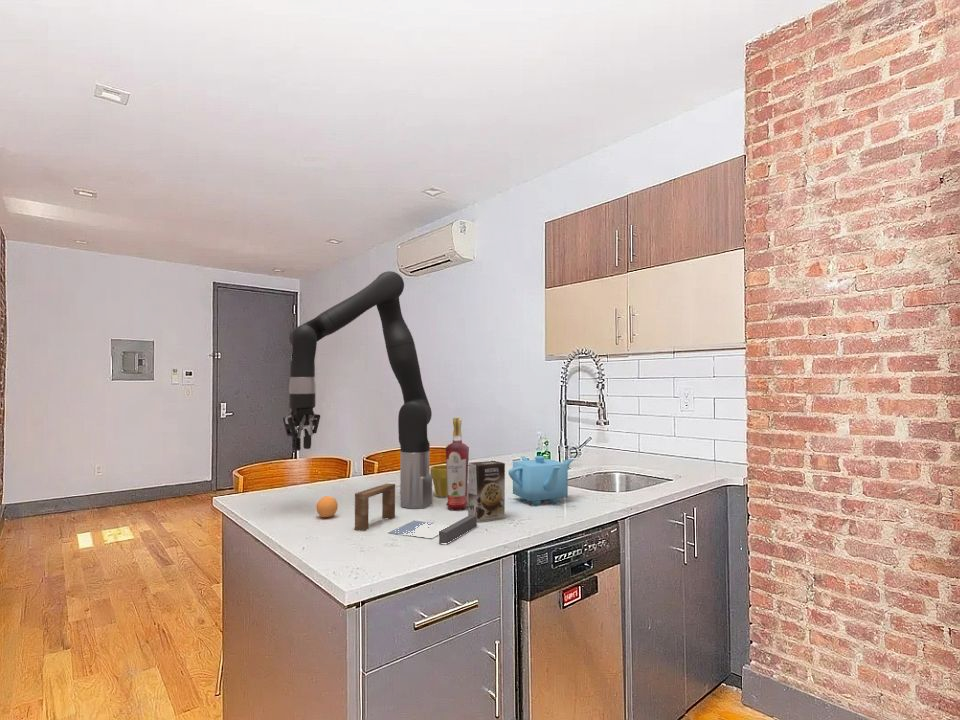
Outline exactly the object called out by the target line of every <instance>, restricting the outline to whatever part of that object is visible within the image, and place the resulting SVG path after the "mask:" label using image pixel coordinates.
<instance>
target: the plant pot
mask: <svg viewBox="0 0 960 720" xmlns="http://www.w3.org/2000/svg"><path fill="white" fill-rule="evenodd" d="M430 474H431V475H432V485H433V487H434V492H435V496H436V497H439V498H448V494H447V469H446V464H438V465H433V466H430Z"/></svg>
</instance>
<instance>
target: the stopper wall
mask: <svg viewBox="0 0 960 720" xmlns="http://www.w3.org/2000/svg"><path fill="white" fill-rule="evenodd" d="M477 523H478V522H477V515H469V516H468V515H467V516H465V517H463V518H461V519H460V520H458V521H456V522H454V523H453V524H449V525H450V526H449V527H447V528H445V529H443V530H441V531H439V536H438V544H439V543H448V542H450V541H452V540H453V539H455V538H457V537H459V536H460V535H462V534H464V533H465V534H467V533H468V532H470V531H471V529H472V528H473V529H475V528H477V527H478V524H477ZM476 526H477V527H476ZM474 527H475V528H474ZM473 529H472V530H473ZM469 530H470V531H469ZM467 531H468V532H467ZM466 532H467V533H466ZM465 534H464V535H465ZM462 536H463V535H462ZM460 537H461V536H460ZM460 537H459V538H460ZM457 539H458V538H457ZM455 540H456V539H455ZM452 542H453V541H452ZM450 543H451V542H450Z"/></svg>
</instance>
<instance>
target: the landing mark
mask: <svg viewBox="0 0 960 720" xmlns="http://www.w3.org/2000/svg"><path fill="white" fill-rule="evenodd" d="M426 522H427V521H420V520H412V521H410V522H408V523H405V524H404V525H401V526H399V527H397V528H395V529H392V530H390V531H389V532H387V533H388V534H390V533H395V532H396V533H395V534H394V535H397V534H404V533H406V532H407V533H406V534H408V533H410V532H411V531H413V530H414V531H415V529H416V528H415V527H416V526H418V527H419V526H420V525H423V524H425V523H426ZM422 523H423V524H422ZM428 523H431V524H433V523H434V522H427V524H428ZM419 524H420V525H419ZM431 524H428V525H431ZM418 527H417V528H418ZM398 528H399V529H398ZM428 528H429V527H428ZM395 530H396V531H395ZM398 530H399V531H398ZM406 530H407V531H406ZM408 531H410V532H408ZM398 532H399V533H398ZM403 532H404V533H403ZM411 533H413V532H411ZM414 533H415V532H414ZM412 535H413V534H412ZM409 537H411V535H410V536H409Z"/></svg>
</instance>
